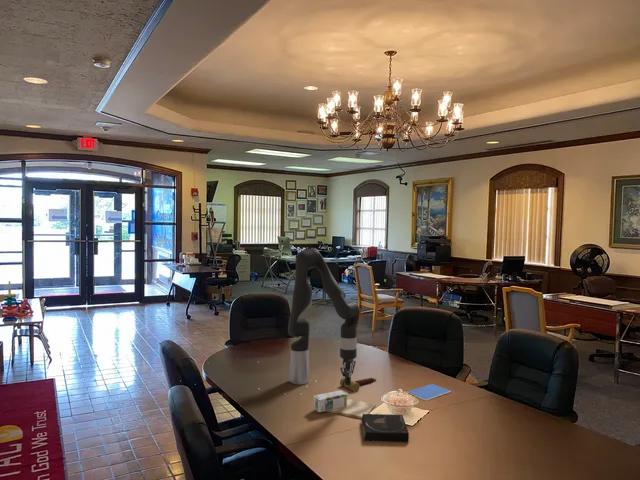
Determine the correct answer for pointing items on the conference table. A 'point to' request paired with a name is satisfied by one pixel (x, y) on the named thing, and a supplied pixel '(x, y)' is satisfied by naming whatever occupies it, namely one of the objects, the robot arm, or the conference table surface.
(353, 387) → the gavel
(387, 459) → the conference table surface
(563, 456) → the conference table surface
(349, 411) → the folded beige cloth
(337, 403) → the syrup box
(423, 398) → the tablet computer
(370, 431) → the portable cd player
